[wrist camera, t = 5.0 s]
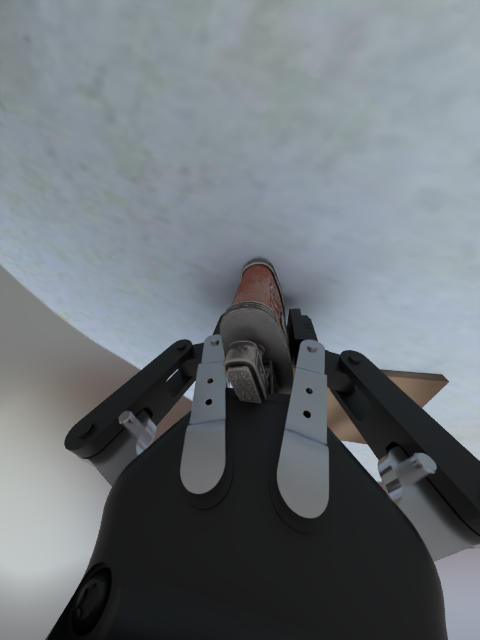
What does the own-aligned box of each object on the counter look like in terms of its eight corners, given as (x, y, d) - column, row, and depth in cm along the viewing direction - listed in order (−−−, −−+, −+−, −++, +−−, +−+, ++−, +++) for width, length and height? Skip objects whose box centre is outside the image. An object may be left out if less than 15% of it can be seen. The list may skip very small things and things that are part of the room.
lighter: (289, 335, 17) (306, 459, 9) (256, 339, 18) (244, 454, 10) (276, 254, 13) (285, 348, 5) (234, 264, 14) (179, 358, 5)
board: (274, 425, 29) (275, 430, 28) (282, 362, 20) (282, 367, 19) (379, 440, 26) (381, 446, 26) (442, 375, 17) (449, 381, 17)
